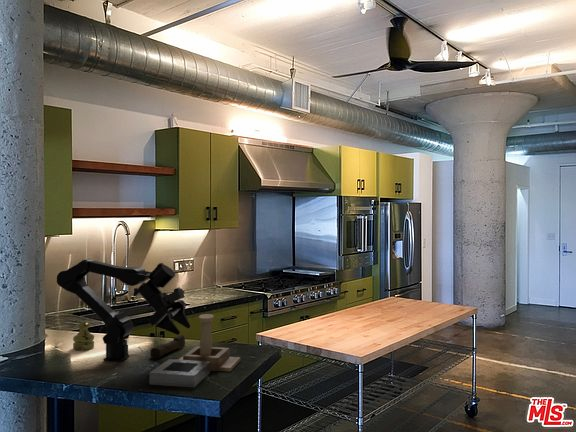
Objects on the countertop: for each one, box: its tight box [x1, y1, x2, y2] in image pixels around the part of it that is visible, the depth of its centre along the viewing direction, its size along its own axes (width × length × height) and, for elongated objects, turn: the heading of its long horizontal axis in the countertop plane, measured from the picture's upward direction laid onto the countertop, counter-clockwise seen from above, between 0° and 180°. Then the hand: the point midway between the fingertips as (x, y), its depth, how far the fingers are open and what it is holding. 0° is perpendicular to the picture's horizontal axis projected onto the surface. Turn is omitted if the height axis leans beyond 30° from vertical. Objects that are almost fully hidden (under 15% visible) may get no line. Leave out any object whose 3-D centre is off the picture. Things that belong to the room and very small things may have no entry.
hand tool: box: [150, 334, 186, 360], centre depth 182 cm, size 19×4×5 cm, turn 156°
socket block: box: [149, 358, 211, 389], centre depth 153 cm, size 14×14×4 cm
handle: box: [198, 313, 215, 356], centre depth 167 cm, size 5×6×15 cm
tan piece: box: [177, 345, 242, 372], centre depth 167 cm, size 20×12×4 cm, turn 80°
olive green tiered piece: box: [72, 321, 95, 352], centre depth 187 cm, size 7×7×10 cm
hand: (184, 330), depth 169 cm, fingers open, 9 cm apart
